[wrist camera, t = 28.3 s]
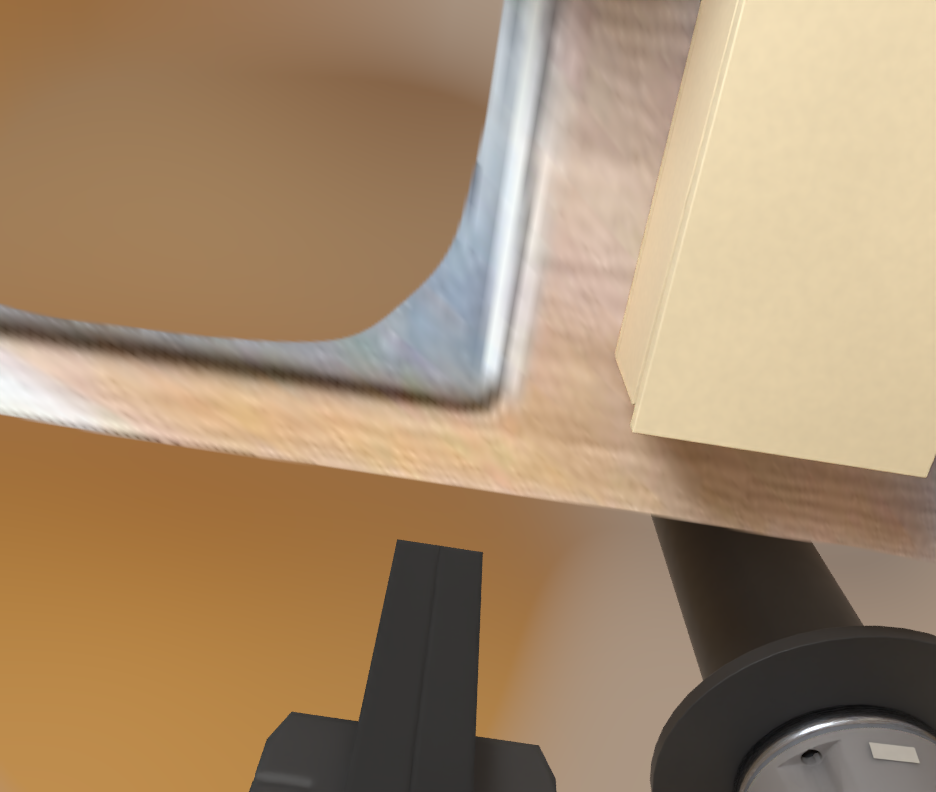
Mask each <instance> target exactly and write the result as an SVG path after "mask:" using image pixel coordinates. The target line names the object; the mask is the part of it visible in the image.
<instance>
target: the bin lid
mask: <svg viewBox="0 0 936 792" xmlns="http://www.w3.org/2000/svg"><path fill="white" fill-rule="evenodd" d="M630 427H631V430H632V432H633V433H638V434H644V435H650V436H657V437H663V438H670V439H676V440H683V441H689V442H696V443H702V444H708V445H715V446H721V447H728V448H734V449H741V450H747V451H754V452H760V453H766V454H773V455H779V456H786V457H792V458H799V459H805V460H812V461H818V462H825V463H831V464H837V465H844V466H850V467H857V468H863V469H870V470H876V471H883V472H889V473H895V474H902V475H908V476H915V477H921V478H926V477H927V475H928V473H929V470H930V468H931V466H932V463H933V461H934V459H935V456H936V0H739V1H738V5H737V9H736V13H735V17H734V21H733V25H732V29H731V32H730V36H729V40H728V44H727V48H726V52H725V56H724V60H723V64H722V68H721V72H720V75H719V79H718V83H717V87H716V91H715V95H714V99H713V103H712V107H711V111H710V115H709V118H708V122H707V126H706V130H705V134H704V138H703V142H702V146H701V150H700V154H699V158H698V161H697V165H696V169H695V173H694V177H693V181H692V185H691V189H690V193H689V197H688V201H687V204H686V208H685V212H684V216H683V220H682V224H681V228H680V232H679V236H678V240H677V244H676V247H675V251H674V255H673V259H672V263H671V267H670V271H669V275H668V279H667V283H666V287H665V290H664V294H663V298H662V302H661V306H660V310H659V314H658V318H657V322H656V326H655V330H654V333H653V337H652V341H651V345H650V349H649V353H648V357H647V361H646V365H645V369H644V372H643V376H642V380H641V384H640V388H639V392H638V396H637V400H636V404H635V408H634V412H633V415H632V419H631V423H630Z"/></svg>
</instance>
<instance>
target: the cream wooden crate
mask: <svg viewBox="0 0 936 792" xmlns="http://www.w3.org/2000/svg"><path fill="white" fill-rule="evenodd" d="M738 1H739V0H701V3H700V8H699V12H698V16H697V20H696V24H695V28H694V32H693V36H692V40H691V44H690V48H689V52H688V57H687V61H686V65H685V69H684V73H683V77H682V81H681V85H680V89H679V93H678V97H677V102H676V106H675V110H674V114H673V118H672V122H671V126H670V130H669V134H668V138H667V142H666V146H665V151H664V155H663V159H662V163H661V167H660V171H659V175H658V179H657V183H656V187H655V191H654V196H653V200H652V204H651V208H650V212H649V216H648V220H647V224H646V228H645V232H644V236H643V241H642V245H641V249H640V253H639V257H638V261H637V265H636V269H635V273H634V277H633V281H632V285H631V290H630V294H629V298H628V302H627V306H626V310H625V314H624V318H623V322H622V326H621V330H620V335H619V339H618V343H617V347H616V351H615V358H616V361H617V364H618V367H619V370H620V373H621V375H622V378H623V381H624V384H625V387H626V389H627V392H628V395H629V398H630V401H631V403H632V405H635V404H636V400H637V396H638V392H639V388H640V384H641V380H642V376H643V372H644V369H645V365H646V361H647V357H648V353H649V349H650V345H651V341H652V337H653V333H654V330H655V326H656V322H657V318H658V314H659V310H660V306H661V302H662V298H663V294H664V290H665V287H666V283H667V279H668V275H669V271H670V267H671V263H672V259H673V255H674V251H675V247H676V244H677V240H678V236H679V232H680V228H681V224H682V220H683V216H684V212H685V208H686V204H687V201H688V197H689V193H690V189H691V185H692V181H693V177H694V173H695V169H696V165H697V161H698V158H699V154H700V150H701V146H702V142H703V138H704V134H705V130H706V126H707V122H708V118H709V115H710V111H711V107H712V103H713V99H714V95H715V91H716V87H717V83H718V79H719V75H720V72H721V68H722V64H723V60H724V56H725V52H726V48H727V44H728V40H729V36H730V32H731V29H732V25H733V21H734V17H735V13H736V9H737V5H738Z"/></svg>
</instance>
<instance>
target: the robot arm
mask: <svg viewBox="0 0 936 792" xmlns="http://www.w3.org/2000/svg"><path fill="white" fill-rule="evenodd" d="M482 555H483V552H477V551H470V550H464V549H457V548H451V547H444V546H437V545H431V544H424V543H417V542H411V541H404V540H397V543H396V548H395V553H394V558H393V563H392V567H391V572H390V576H389V581H388V586H387V590H386V595H385V600H384V605H383V609H382V614H381V619H380V624H379V628H378V633H377V638H376V643H375V647H374V652H373V656H372V661H371V666H370V670H369V675H368V680H367V684H366V689H365V694H364V699H363V703H362V708H361V713H360V717H359V722H358V721H351V720H344V719H338V718H330V717H324V716H317V715H310V714H303V713H297V712H291V713H290V714H289V715H288V717H287V718H286V719H285V720H284V721H283V722H282V723H281V724H280V725H279V727H278V728H277V729H276V730H275V731H274V732H273V733H272V734H271V735H270V737H269V738H268V739H267V741H266V744H265V747H264V750H263V752H262V756H261V759H260V761H259V764H258V767H257V770H256V773H255V778H254V781H253V782H252V785H251V788H250V791H249V792H556V780H555V777H554V775H553V773H552V771H551V769H550V767H549V765H548V763H547V761H546V759H545V757H544V755H543V753H542V751H541V749H540V747H539V746H538V745H532V744H524V743H517V742H511V741H504V740H497V739H490V738H483V737H477V736H475V733H476V708H477V683H478V656H479V633H480V632H479V631H480V608H481V582H482V557H483V556H482ZM733 792H936V731H935V730H934V729H933V728H931V727H930V726H929V725H928V724H926V723H925V722H923V721H922V720H920V719H918V718H916V717H914V716H912V715H910V714H908V713H905V712H902V711H899V710H896V709H892V708H887V707H882V706H874V705H842V706H834V707H828V708H823V709H819V710H815V711H812V712H809V713H806V714H803V715H800V716H798V717H795V718H793V719H791V720H789V721H787V722H785V723H783V724H781V725H779V726H778V727H776V728H774V729H773V730H771V731H770V732H769V733H767V734H766V735H765V736H763V737H762V738H761V739H760V740H759V741H758V742H757V743H756V744H755V745H754V746H753V747H752V748H751V749H750V750H749V752H748V753H747V754H746V755H745V757H744V759H743V760H742V762H741V764H740V766H739V768H738V770H737V773H736V776H735V780H734V787H733Z"/></svg>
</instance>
